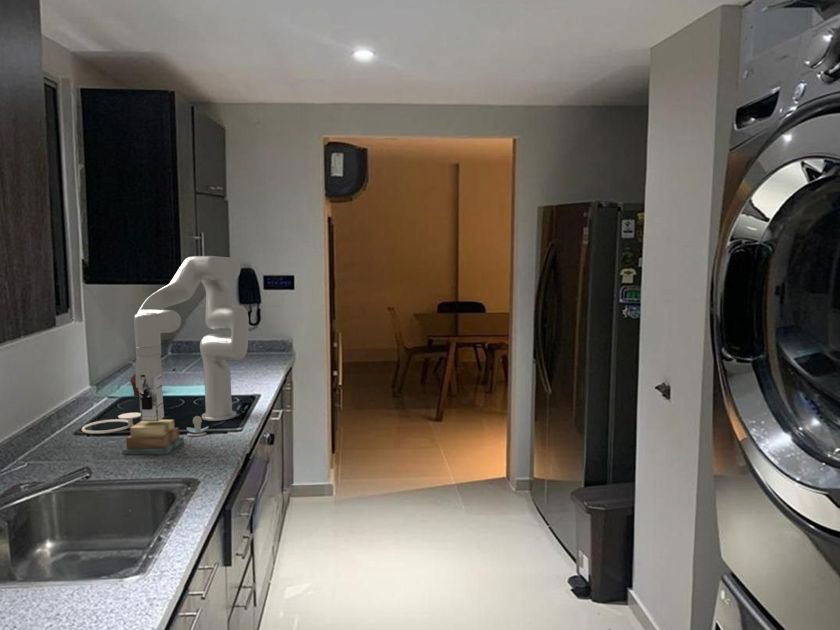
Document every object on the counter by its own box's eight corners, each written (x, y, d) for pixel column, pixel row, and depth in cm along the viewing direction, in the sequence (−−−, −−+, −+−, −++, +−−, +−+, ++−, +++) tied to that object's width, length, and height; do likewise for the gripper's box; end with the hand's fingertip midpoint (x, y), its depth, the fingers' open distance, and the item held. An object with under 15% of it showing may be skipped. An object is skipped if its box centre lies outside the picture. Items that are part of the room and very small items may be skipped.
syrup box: (164, 416, 231) (162, 373, 229) (158, 421, 225) (155, 376, 223) (146, 417, 230) (144, 373, 229) (140, 422, 224) (137, 377, 223)
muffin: (164, 392, 312) (162, 369, 311) (152, 397, 301) (150, 374, 300) (138, 391, 313) (137, 369, 312) (125, 397, 302) (124, 374, 301)
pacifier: (206, 437, 241) (209, 431, 247) (205, 419, 240) (208, 414, 246) (184, 437, 240) (188, 432, 246) (183, 420, 239) (187, 415, 245)
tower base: (142, 441, 236) (141, 417, 235) (183, 441, 235) (182, 418, 234) (122, 454, 222) (121, 429, 221) (166, 454, 221) (164, 429, 220)
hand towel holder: (89, 411, 261) (147, 409, 264) (90, 423, 261) (148, 420, 264) (73, 423, 244) (135, 420, 247) (74, 435, 245) (136, 432, 247)
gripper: (149, 347, 234) (152, 400, 236) (124, 356, 217) (128, 413, 219) (171, 347, 233) (174, 400, 235) (148, 356, 216) (151, 413, 218)
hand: (151, 406), depth 227 cm, fingers closed on syrup box, 6 cm apart
